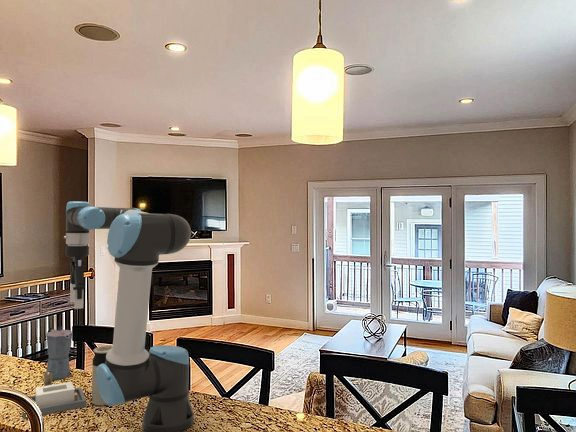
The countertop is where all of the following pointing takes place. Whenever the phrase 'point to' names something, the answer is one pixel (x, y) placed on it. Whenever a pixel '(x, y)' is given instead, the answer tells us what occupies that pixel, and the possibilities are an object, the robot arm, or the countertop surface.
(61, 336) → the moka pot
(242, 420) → the countertop surface
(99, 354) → the travel mug
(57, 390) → the white boxy piece
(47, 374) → the stake
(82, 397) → the tray
